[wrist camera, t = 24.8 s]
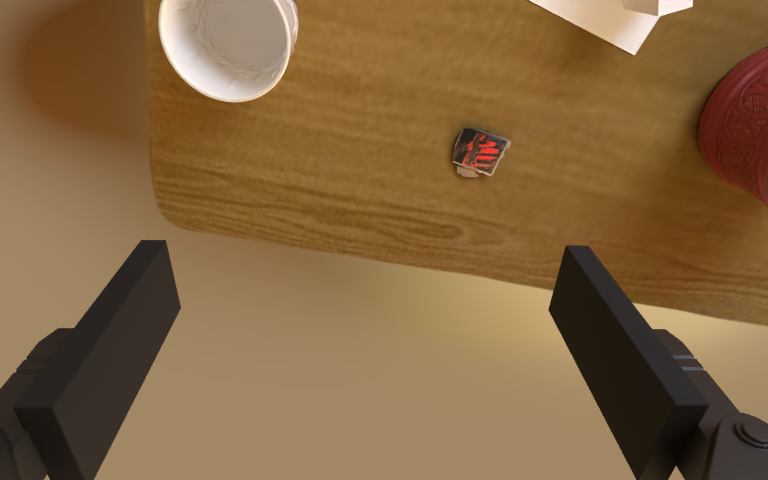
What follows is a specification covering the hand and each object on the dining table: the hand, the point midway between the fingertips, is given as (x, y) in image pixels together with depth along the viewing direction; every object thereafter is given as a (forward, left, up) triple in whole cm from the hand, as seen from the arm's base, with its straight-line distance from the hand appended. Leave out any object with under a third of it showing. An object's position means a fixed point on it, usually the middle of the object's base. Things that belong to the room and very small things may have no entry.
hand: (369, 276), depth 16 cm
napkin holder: (+8, +22, -29) cm, 37 cm away
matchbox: (+12, +2, -29) cm, 31 cm away
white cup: (-10, -2, -29) cm, 31 cm away
